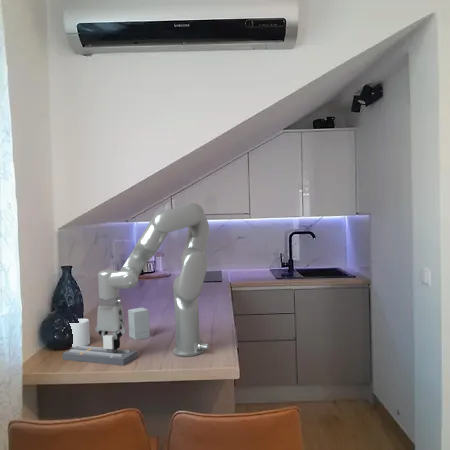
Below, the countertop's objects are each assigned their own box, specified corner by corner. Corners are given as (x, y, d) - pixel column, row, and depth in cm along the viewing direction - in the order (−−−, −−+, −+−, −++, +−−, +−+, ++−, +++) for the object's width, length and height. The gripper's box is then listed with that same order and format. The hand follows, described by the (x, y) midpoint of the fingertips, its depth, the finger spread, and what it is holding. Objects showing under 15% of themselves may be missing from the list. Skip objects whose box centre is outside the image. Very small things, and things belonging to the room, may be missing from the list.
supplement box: (150, 337, 215) (149, 309, 214) (134, 340, 211) (133, 312, 210) (144, 333, 221) (142, 307, 221) (128, 336, 217) (127, 309, 217)
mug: (64, 343, 210) (62, 319, 210) (91, 341, 212) (90, 317, 211) (59, 349, 202) (57, 324, 201) (88, 347, 203) (86, 322, 202)
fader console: (137, 357, 188) (137, 348, 188) (123, 365, 178) (123, 357, 178) (78, 351, 198) (78, 343, 198) (62, 359, 188) (62, 351, 188)
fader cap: (119, 350, 188) (119, 333, 187) (112, 354, 183) (111, 336, 183) (111, 350, 189) (110, 332, 189) (103, 354, 184) (102, 336, 184)
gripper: (133, 300, 186) (135, 346, 186) (97, 298, 191) (99, 343, 192) (122, 304, 178) (124, 352, 179) (85, 302, 184) (87, 349, 185)
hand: (111, 347), depth 186 cm, fingers closed on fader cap, 4 cm apart
